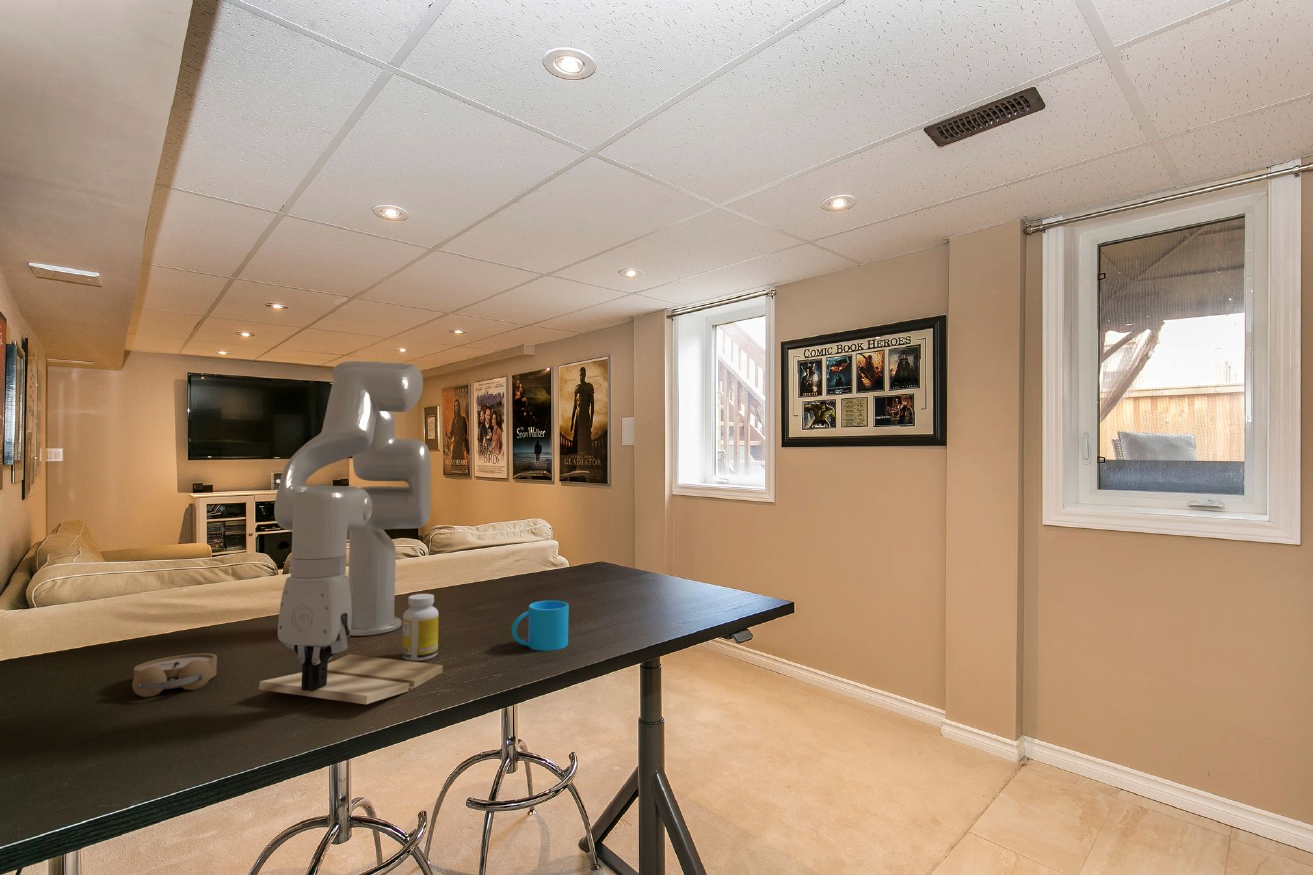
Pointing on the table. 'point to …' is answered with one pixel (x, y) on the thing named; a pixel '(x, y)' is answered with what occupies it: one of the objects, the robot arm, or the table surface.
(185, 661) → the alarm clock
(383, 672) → the floor row
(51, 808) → the table surface
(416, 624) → the pill bottle
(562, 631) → the mug
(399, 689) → the plank
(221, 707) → the table surface
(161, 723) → the table surface
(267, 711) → the table surface
